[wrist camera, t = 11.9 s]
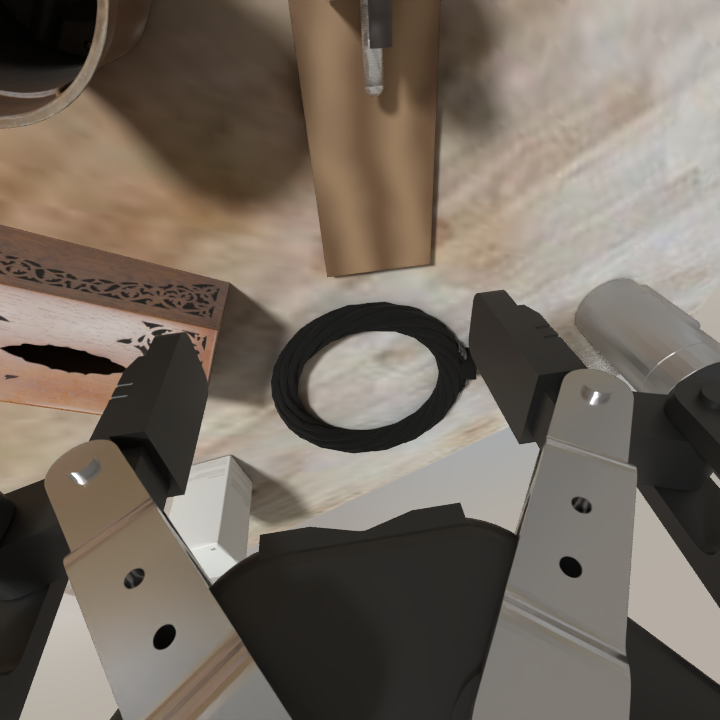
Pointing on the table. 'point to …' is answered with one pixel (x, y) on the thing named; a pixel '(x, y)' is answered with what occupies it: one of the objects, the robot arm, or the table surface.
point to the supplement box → (215, 514)
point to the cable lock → (355, 319)
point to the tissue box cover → (91, 319)
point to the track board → (370, 129)
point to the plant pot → (59, 51)
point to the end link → (370, 57)
